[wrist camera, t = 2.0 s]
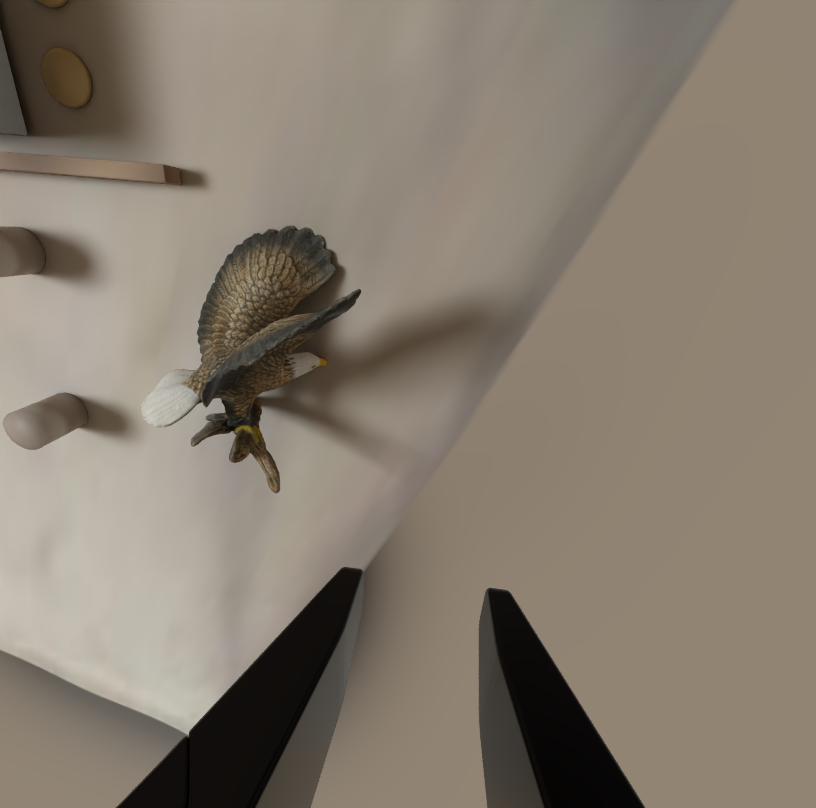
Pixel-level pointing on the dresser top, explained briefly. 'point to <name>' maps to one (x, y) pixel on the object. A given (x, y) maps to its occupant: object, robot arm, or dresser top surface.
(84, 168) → the pin seat fixture
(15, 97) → the block
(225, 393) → the eagle figurine
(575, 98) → the dresser top surface
